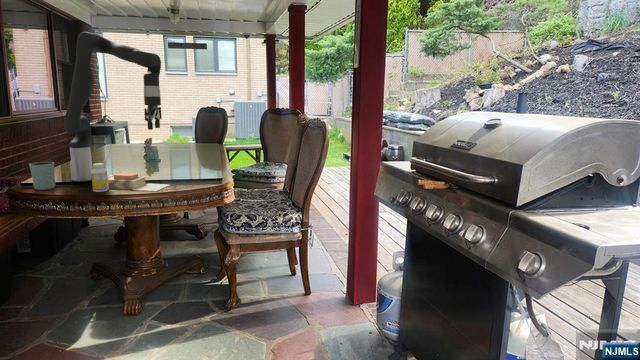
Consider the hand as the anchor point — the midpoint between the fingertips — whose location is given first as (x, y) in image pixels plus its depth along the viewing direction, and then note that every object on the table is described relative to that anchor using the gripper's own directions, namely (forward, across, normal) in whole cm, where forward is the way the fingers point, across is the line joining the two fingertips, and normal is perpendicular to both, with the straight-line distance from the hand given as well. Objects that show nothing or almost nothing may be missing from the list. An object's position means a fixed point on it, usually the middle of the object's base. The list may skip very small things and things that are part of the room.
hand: (154, 128), depth 208 cm
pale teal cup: (+29, +13, -49) cm, 59 cm away
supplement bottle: (+28, +17, -20) cm, 39 cm away
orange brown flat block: (+24, +7, -12) cm, 28 cm away
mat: (+28, +9, +1) cm, 29 cm away
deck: (+28, +7, -15) cm, 33 cm away
